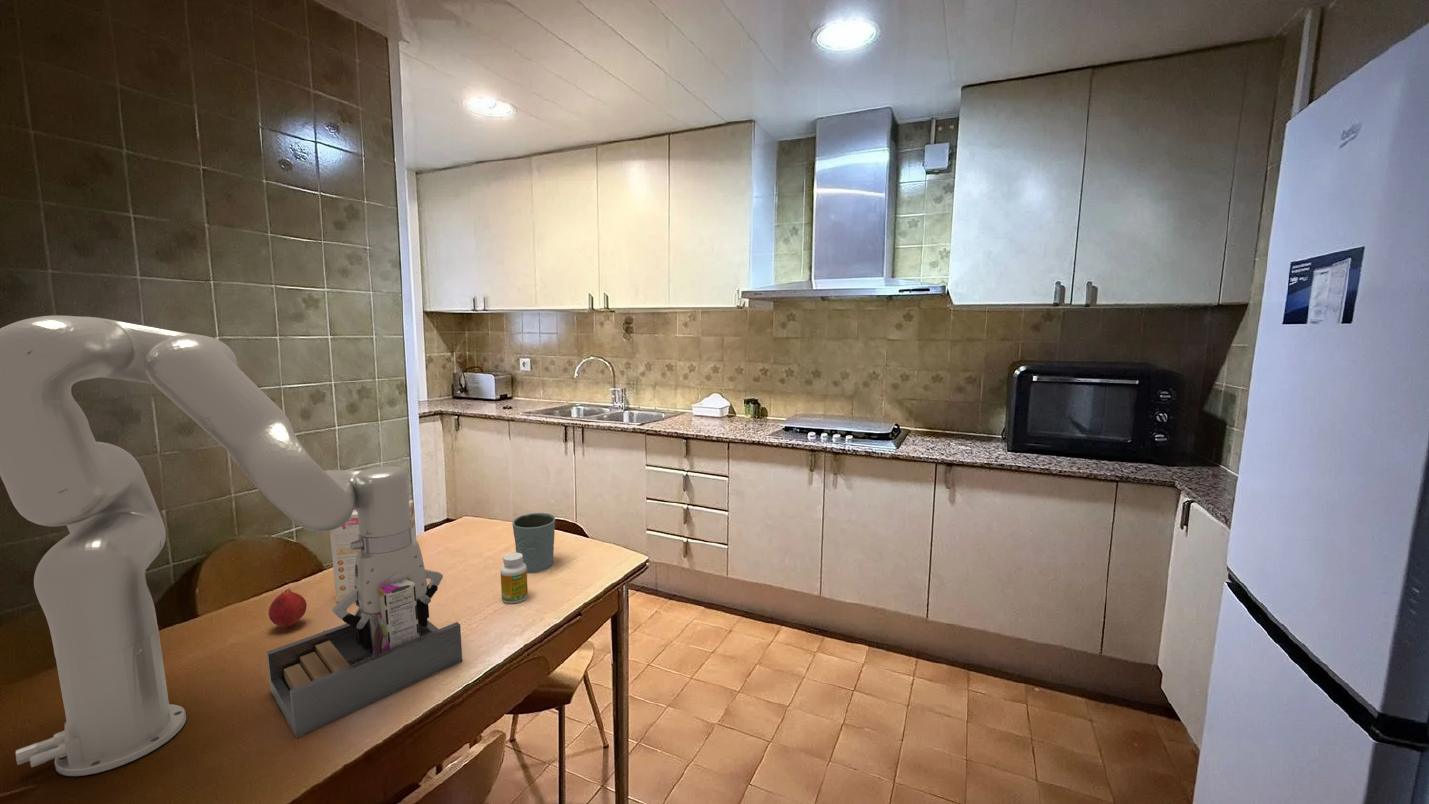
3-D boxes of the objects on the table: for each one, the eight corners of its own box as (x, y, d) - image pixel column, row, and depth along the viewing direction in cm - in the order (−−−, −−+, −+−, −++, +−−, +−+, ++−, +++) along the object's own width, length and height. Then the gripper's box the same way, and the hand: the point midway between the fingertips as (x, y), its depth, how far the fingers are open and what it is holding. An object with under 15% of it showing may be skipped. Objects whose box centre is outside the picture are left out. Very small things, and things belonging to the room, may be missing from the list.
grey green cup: (540, 554, 142) (538, 510, 140) (565, 564, 136) (564, 518, 134) (505, 567, 133) (503, 521, 132) (530, 578, 128) (529, 530, 126)
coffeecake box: (420, 579, 127) (414, 499, 124) (413, 593, 120) (407, 509, 118) (346, 588, 122) (338, 505, 120) (335, 603, 116) (327, 516, 113)
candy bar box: (370, 657, 97) (363, 571, 95) (401, 645, 101) (395, 562, 98) (391, 686, 89) (383, 592, 87) (423, 672, 93) (417, 582, 91)
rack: (296, 738, 78) (291, 693, 77) (270, 691, 88) (266, 651, 87) (462, 660, 96) (460, 624, 95) (425, 629, 106) (423, 596, 105)
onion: (287, 636, 103) (283, 597, 102) (262, 633, 104) (258, 594, 103) (315, 620, 109) (311, 583, 108) (291, 617, 110) (287, 580, 109)
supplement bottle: (512, 606, 115) (510, 563, 114) (496, 600, 118) (494, 557, 116) (533, 596, 119) (531, 554, 118) (517, 590, 122) (515, 549, 121)
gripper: (333, 562, 83) (343, 667, 85) (448, 530, 96) (454, 621, 98) (318, 549, 88) (328, 648, 90) (430, 520, 101) (436, 607, 103)
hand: (394, 634), depth 94 cm, fingers open, 8 cm apart
